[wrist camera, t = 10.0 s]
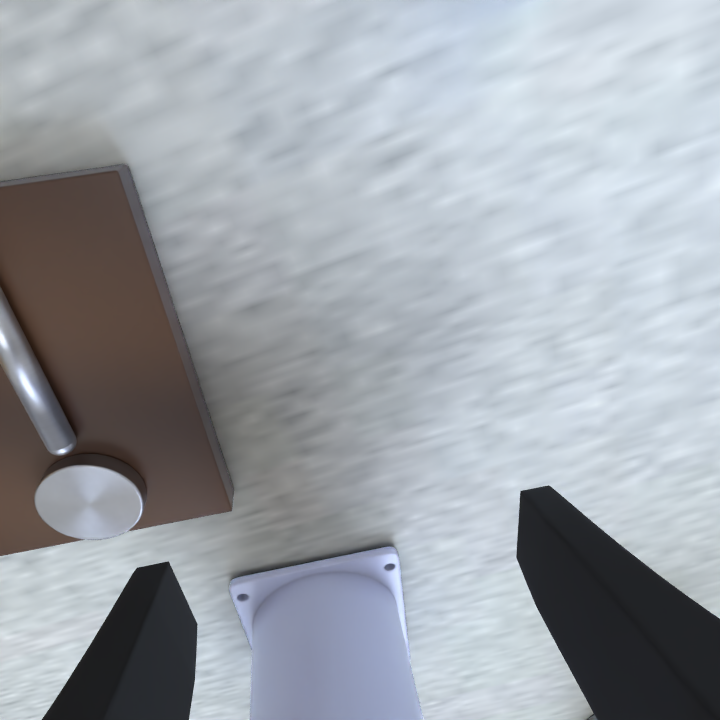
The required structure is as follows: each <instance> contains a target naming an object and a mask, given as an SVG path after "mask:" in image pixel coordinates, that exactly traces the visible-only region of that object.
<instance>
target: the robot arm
mask: <svg viewBox="0 0 720 720" xmlns="http://www.w3.org/2000/svg"><path fill="white" fill-rule="evenodd" d="M517 560H518V562H519V565H520V567H521V570H522V572H523V575H524V578H525V580H526V583H527V585H528V587H529V590H530V592H531V595H532V597H533V599H534V602H535V604H536V606H537V608H538V610H539V612H540V614H541V616H542V618H543V620H544V622H545V624H546V625H547V627H548V629H549V631H550V633H551V635H552V637H553V639H554V640H555V642H556V644H557V646H558V648H559V650H560V652H561V653H562V655H563V657H564V659H565V661H566V663H567V664H568V666H569V668H570V670H571V672H572V674H573V676H574V677H575V679H576V681H577V683H578V685H579V687H580V689H581V690H582V692H583V694H584V696H585V698H586V700H587V702H588V703H589V705H590V707H591V709H592V711H593V713H594V714H595V716H596V718H597V720H720V619H719V618H718V617H716V616H715V615H713V614H712V613H710V612H709V611H708V610H706V609H705V608H703V607H702V606H700V605H699V604H698V603H696V602H695V601H694V600H692V599H691V598H689V597H688V596H687V595H685V594H684V593H682V592H681V591H680V590H678V589H677V588H675V587H674V586H673V585H671V584H670V583H669V582H667V581H666V580H665V579H663V578H662V577H661V576H659V575H658V574H657V573H655V572H654V571H653V570H652V569H650V568H649V567H648V566H646V565H645V564H644V563H643V562H641V561H640V560H639V559H638V558H636V557H635V556H634V555H632V554H631V553H630V552H629V551H627V550H626V549H625V548H624V547H622V546H621V545H620V544H619V543H617V542H616V541H615V540H614V539H612V538H611V537H610V536H609V535H608V534H606V533H605V532H604V531H603V530H602V529H600V528H599V527H598V526H597V525H595V524H594V523H593V522H592V521H591V520H590V519H588V518H587V517H586V516H585V515H584V514H582V513H581V512H580V511H579V510H578V509H577V508H575V507H574V506H573V505H572V504H571V503H570V502H568V501H567V500H566V499H565V498H564V497H562V496H561V495H560V494H559V493H558V492H557V491H555V490H554V489H553V488H552V487H550V486H544V487H539V488H534V489H529V490H524V491H521V493H520V509H519V525H518V541H517ZM229 592H230V595H231V597H232V600H233V603H234V605H235V608H236V610H237V613H238V616H239V618H240V621H241V623H242V626H243V629H244V631H245V634H246V636H247V639H248V642H249V644H250V647H251V649H252V666H251V696H250V720H424V719H423V715H422V710H421V706H420V702H419V698H418V693H417V689H416V685H415V681H414V677H413V672H412V668H411V664H410V651H409V642H408V633H407V624H406V615H405V606H404V597H403V588H402V579H401V571H400V562H399V555H398V552H397V549H395V548H394V547H383V548H378V549H373V550H368V551H364V552H359V553H354V554H349V555H344V556H339V557H334V558H329V559H324V560H320V561H315V562H310V563H305V564H300V565H295V566H290V567H285V568H280V569H275V570H271V571H266V572H261V573H256V574H251V575H246V576H241V577H237V578H235V579H233V580H232V581H231V582H230V587H229ZM196 646H197V622H196V620H195V618H194V616H193V614H192V611H191V609H190V607H189V605H188V603H187V600H186V598H185V596H184V594H183V592H182V590H181V587H180V585H179V583H178V581H177V579H176V576H175V574H174V572H173V570H172V568H171V566H170V563H169V562H164V563H159V564H154V565H149V566H144V567H139V568H137V569H136V570H135V571H134V573H133V574H132V576H131V578H130V579H129V581H128V583H127V584H126V586H125V588H124V589H123V591H122V593H121V595H120V596H119V598H118V600H117V601H116V603H115V605H114V606H113V608H112V610H111V611H110V613H109V615H108V616H107V618H106V620H105V621H104V623H103V625H102V626H101V628H100V630H99V631H98V633H97V635H96V636H95V638H94V640H93V641H92V643H91V645H90V646H89V648H88V649H87V651H86V653H85V654H84V656H83V657H82V659H81V660H80V662H79V664H78V665H77V667H76V668H75V670H74V672H73V673H72V675H71V676H70V678H69V679H68V681H67V683H66V684H65V686H64V687H63V689H62V690H61V692H60V694H59V695H58V697H57V698H56V700H55V701H54V703H53V704H52V706H51V707H50V709H49V710H48V711H47V713H46V714H45V716H44V717H43V719H42V720H189V715H190V708H191V702H192V695H193V688H194V681H195V666H196Z"/></svg>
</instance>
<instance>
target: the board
mask: <svg viewBox="0 0 720 720" xmlns="http://www.w3.org/2000/svg"><path fill="white" fill-rule="evenodd" d="M0 287H1V289H2V291H3V293H4V295H5V297H6V299H7V301H8V303H9V305H10V307H11V309H12V311H13V313H14V315H15V317H16V319H17V321H18V323H19V325H20V327H21V329H22V331H23V333H24V335H25V337H26V339H27V341H28V342H29V344H30V346H31V348H32V350H33V352H34V354H35V356H36V358H37V360H38V362H39V364H40V366H41V368H42V370H43V372H44V374H45V376H46V378H47V380H48V382H49V384H50V386H51V388H52V390H53V392H54V394H55V396H56V398H57V400H58V402H59V404H60V406H61V408H62V410H63V412H64V414H65V416H66V418H67V420H68V422H69V424H70V426H71V428H72V430H73V432H74V434H75V436H76V440H77V443H76V446H75V448H74V449H73V450H72V451H71V452H70V453H68V454H66V455H62V456H58V455H54V454H52V453H50V452H49V451H48V450H47V448H46V446H45V444H44V443H43V441H42V439H41V437H40V435H39V433H38V432H37V430H36V428H35V426H34V424H33V423H32V421H31V419H30V417H29V415H28V413H27V412H26V410H25V408H24V406H23V404H22V402H21V401H20V399H19V397H18V395H17V393H16V392H15V390H14V388H13V386H12V384H11V382H10V381H9V379H8V377H7V375H6V373H5V371H4V370H3V368H2V366H1V364H0V556H3V555H8V554H13V553H18V552H24V551H29V550H34V549H39V548H44V547H49V546H54V545H60V544H65V543H70V542H75V541H80V540H85V539H79V538H74V537H71V536H67V535H65V534H62V533H60V532H58V531H56V530H55V529H53V528H52V527H50V526H49V525H48V524H46V523H45V522H44V521H43V520H42V518H41V517H40V516H39V514H38V512H37V510H36V507H35V502H34V495H35V491H36V488H37V486H38V484H39V482H40V481H41V479H42V477H43V475H44V474H45V472H46V471H47V470H48V469H49V468H50V467H51V466H52V465H53V464H55V463H56V462H58V461H60V460H62V459H64V458H67V457H70V456H74V455H79V454H99V455H105V456H109V457H113V458H115V459H118V460H120V461H122V462H124V463H126V464H128V465H129V466H130V467H132V468H133V469H134V470H135V471H136V472H137V473H138V474H139V475H140V476H141V478H142V479H143V481H144V483H145V486H146V490H147V499H146V503H145V507H144V510H143V513H142V516H141V518H140V519H139V521H138V522H137V523H136V524H135V525H134V526H133V527H132V528H131V529H130V530H128V531H132V530H137V529H142V528H147V527H152V526H157V525H162V524H168V523H173V522H178V521H183V520H188V519H193V518H198V517H204V516H209V515H214V514H219V513H224V512H229V511H232V507H233V495H234V489H233V486H232V483H231V480H230V477H229V474H228V471H227V467H226V464H225V461H224V458H223V455H222V452H221V449H220V446H219V443H218V440H217V437H216V434H215V431H214V428H213V424H212V421H211V418H210V415H209V412H208V409H207V406H206V403H205V400H204V397H203V394H202V391H201V388H200V385H199V381H198V378H197V375H196V372H195V369H194V366H193V363H192V360H191V357H190V354H189V351H188V348H187V345H186V342H185V338H184V335H183V332H182V329H181V326H180V323H179V320H178V317H177V314H176V311H175V308H174V305H173V302H172V299H171V295H170V292H169V289H168V286H167V283H166V280H165V277H164V274H163V271H162V268H161V265H160V262H159V259H158V256H157V252H156V249H155V246H154V243H153V240H152V237H151V234H150V231H149V228H148V225H147V222H146V219H145V216H144V213H143V210H142V206H141V203H140V200H139V197H138V194H137V191H136V188H135V185H134V182H133V179H132V176H131V173H130V170H129V167H128V165H126V164H122V165H115V166H108V167H101V168H94V169H87V170H80V171H73V172H66V173H59V174H52V175H45V176H38V177H31V178H23V179H16V180H9V181H2V182H0Z"/></svg>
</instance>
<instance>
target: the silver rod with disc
mask: <svg viewBox="0 0 720 720" xmlns="http://www.w3.org/2000/svg"><path fill="white" fill-rule="evenodd" d="M0 364H1V366H2V368H3V370H4V371H5V373H6V375H7V377H8V379H9V381H10V382H11V384H12V386H13V388H14V390H15V392H16V393H17V395H18V397H19V399H20V401H21V402H22V404H23V406H24V408H25V410H26V412H27V413H28V415H29V417H30V419H31V421H32V423H33V424H34V426H35V428H36V430H37V432H38V433H39V435H40V437H41V439H42V441H43V443H44V444H45V446H46V448H47V450H48V451H49V452H50V453H52V454H54V455H58V456H62V455H66V454H68V453H70V452H71V451H72V450H73V449H74V448H75V446H76V443H77V440H76V436H75V434H74V432H73V430H72V428H71V426H70V424H69V422H68V420H67V418H66V416H65V414H64V412H63V410H62V408H61V406H60V404H59V402H58V400H57V398H56V396H55V394H54V392H53V390H52V388H51V386H50V384H49V382H48V380H47V378H46V376H45V374H44V372H43V370H42V368H41V366H40V364H39V362H38V360H37V358H36V356H35V354H34V352H33V350H32V348H31V346H30V344H29V342H28V341H27V339H26V337H25V335H24V333H23V331H22V329H21V327H20V325H19V323H18V321H17V319H16V317H15V315H14V313H13V311H12V309H11V307H10V305H9V303H8V301H7V299H6V297H5V295H4V293H3V291H2V289H1V287H0ZM146 499H147V490H146V486H145V483H144V481H143V479H142V478H141V476H140V475H139V474H138V473H137V472H136V471H135V470H134V469H133V468H132V467H130V466H129V465H128V464H126V463H124V462H122V461H120V460H118V459H115V458H113V457H109V456H105V455H99V454H79V455H74V456H70V457H67V458H64V459H62V460H60V461H58V462H56V463H55V464H53V465H52V466H51V467H50V468H49V469H48V470H47V471H46V472H45V474H44V475H43V477H42V479H41V481H40V482H39V484H38V486H37V488H36V491H35V495H34V502H35V507H36V510H37V512H38V514H39V516H40V517H41V518H42V520H43V521H44V522H45V523H46V524H48V525H49V526H50V527H52V528H53V529H55V530H56V531H58V532H60V533H62V534H65V535H67V536H71V537H74V538H79V539H86V540H101V539H108V538H112V537H116V536H118V535H121V534H123V533H125V532H127V531H128V530H130V529H131V528H132V527H133V526H134V525H135V524H136V523H137V522H138V521H139V519H140V518H141V516H142V513H143V510H144V507H145V503H146Z"/></svg>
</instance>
